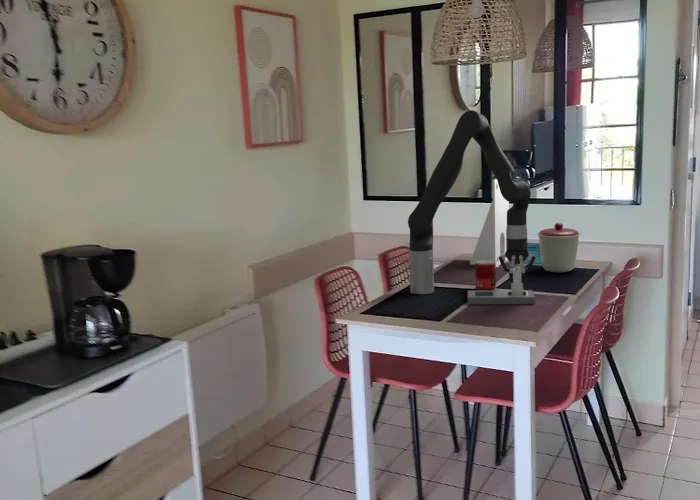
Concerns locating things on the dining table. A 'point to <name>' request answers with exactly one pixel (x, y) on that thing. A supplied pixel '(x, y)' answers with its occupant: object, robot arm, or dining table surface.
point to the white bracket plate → (493, 230)
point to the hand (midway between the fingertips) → (517, 282)
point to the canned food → (485, 274)
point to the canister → (558, 248)
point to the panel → (499, 297)
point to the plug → (517, 283)
